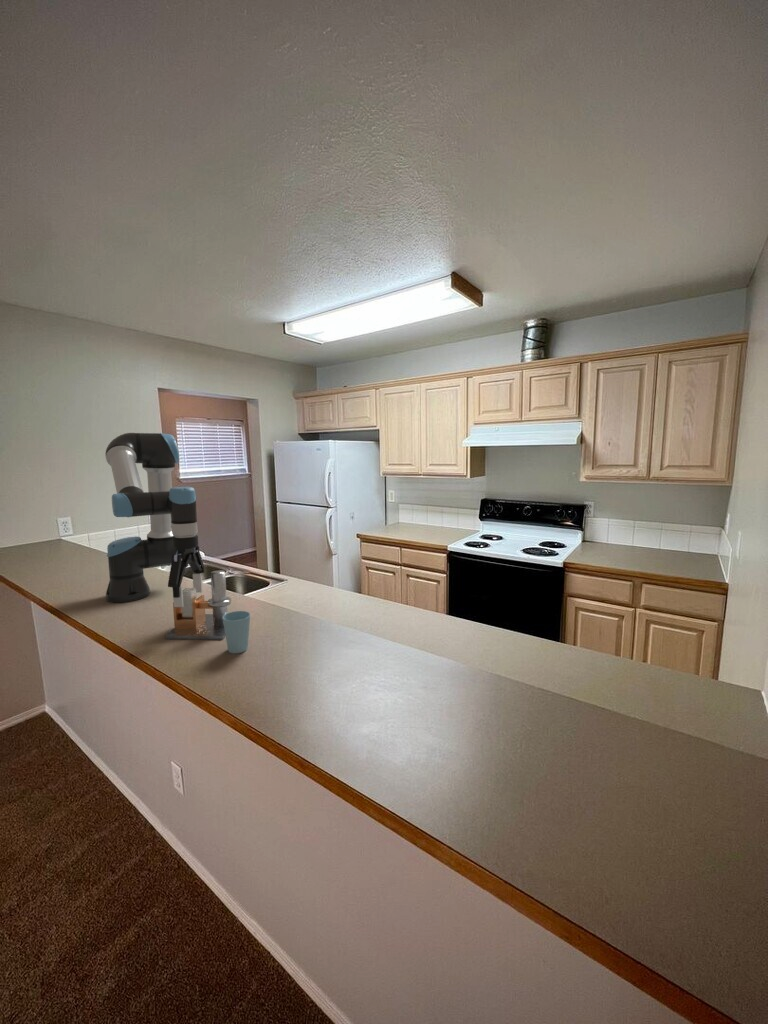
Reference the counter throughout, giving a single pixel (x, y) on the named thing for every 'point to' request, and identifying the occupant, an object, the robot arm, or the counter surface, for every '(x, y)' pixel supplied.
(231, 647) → the cup
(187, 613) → the light grey block
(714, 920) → the counter surface
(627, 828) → the counter surface
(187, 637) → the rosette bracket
